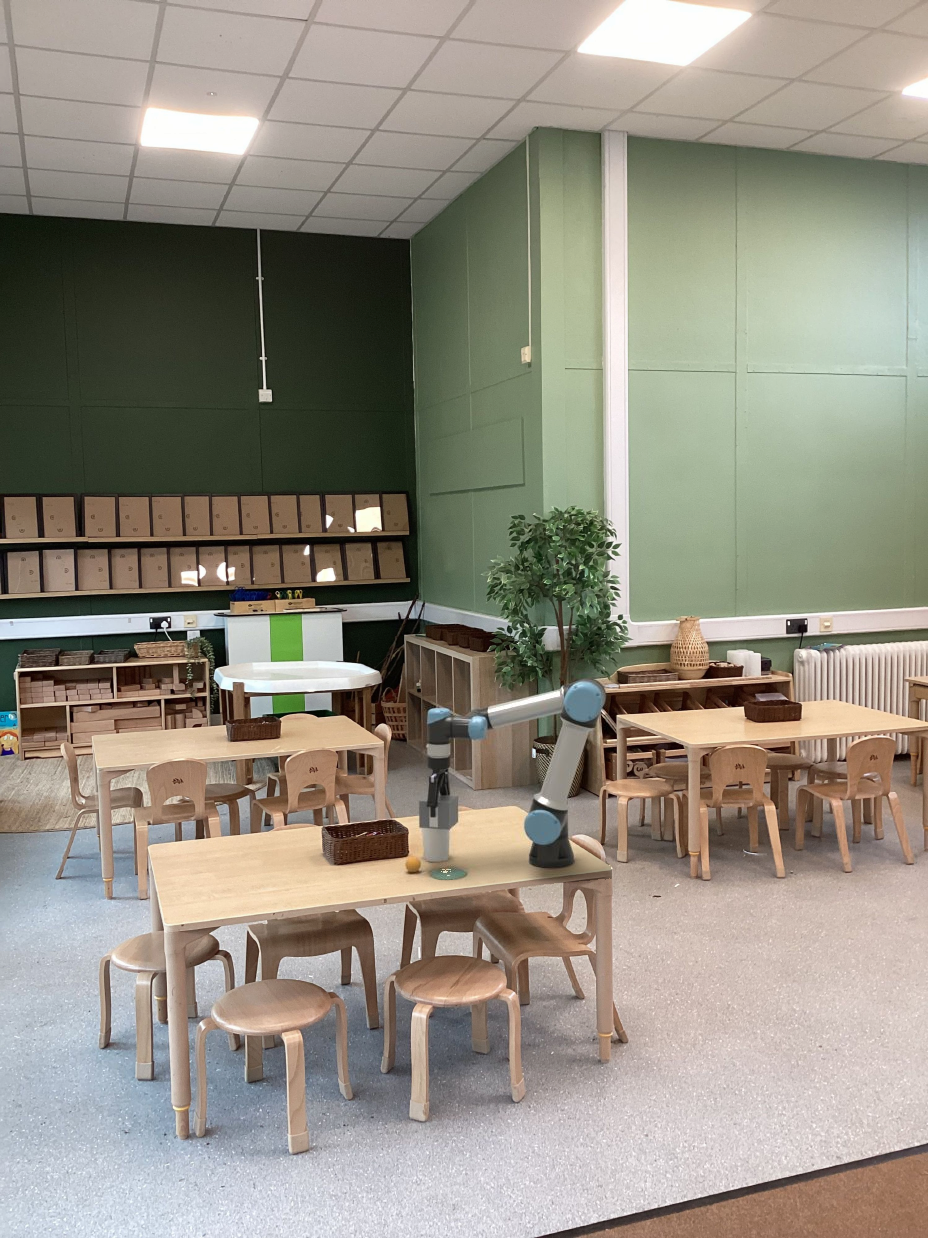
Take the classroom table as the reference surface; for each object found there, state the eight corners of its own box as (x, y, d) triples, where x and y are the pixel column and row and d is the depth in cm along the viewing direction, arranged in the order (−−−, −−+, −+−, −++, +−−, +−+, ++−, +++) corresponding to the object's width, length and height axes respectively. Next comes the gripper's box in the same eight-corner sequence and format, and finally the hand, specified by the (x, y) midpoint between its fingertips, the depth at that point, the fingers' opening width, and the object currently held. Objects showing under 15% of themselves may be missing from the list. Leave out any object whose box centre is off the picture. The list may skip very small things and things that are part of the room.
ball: (423, 870, 355) (422, 855, 355) (418, 875, 350) (417, 859, 350) (408, 869, 356) (408, 854, 356) (403, 874, 352) (403, 859, 351)
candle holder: (447, 863, 362) (446, 828, 361) (419, 862, 364) (418, 827, 363) (453, 855, 372) (452, 820, 371) (426, 854, 374) (425, 820, 373)
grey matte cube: (458, 822, 358) (458, 796, 357) (449, 830, 348) (449, 803, 348) (429, 819, 361) (428, 794, 360) (419, 827, 351) (419, 801, 351)
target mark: (471, 869, 354) (471, 869, 354) (461, 881, 343) (461, 880, 343) (436, 867, 357) (436, 867, 357) (425, 878, 346) (425, 878, 346)
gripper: (438, 748, 365) (438, 813, 367) (416, 762, 343) (416, 830, 345) (459, 750, 363) (459, 814, 364) (439, 763, 341) (439, 832, 343)
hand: (438, 822), depth 355 cm, fingers closed on grey matte cube, 10 cm apart
